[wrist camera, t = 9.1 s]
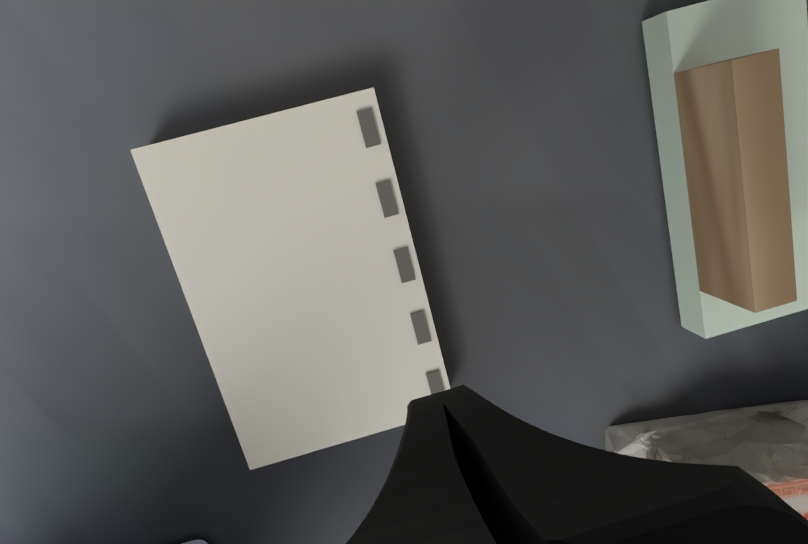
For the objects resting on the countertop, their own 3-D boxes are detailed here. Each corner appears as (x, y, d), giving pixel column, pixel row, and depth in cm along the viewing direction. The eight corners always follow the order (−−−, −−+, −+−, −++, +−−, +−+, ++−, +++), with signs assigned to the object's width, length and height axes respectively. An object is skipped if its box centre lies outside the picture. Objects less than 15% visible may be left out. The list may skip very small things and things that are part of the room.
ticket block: (256, 448, 22) (249, 472, 20) (146, 149, 19) (128, 149, 17) (447, 392, 22) (456, 411, 20) (371, 91, 19) (374, 87, 17)
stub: (681, 326, 22) (760, 367, 18) (641, 21, 19) (724, -13, 15) (793, 293, 23) (895, 326, 18) (770, -12, 20) (886, -55, 16)
